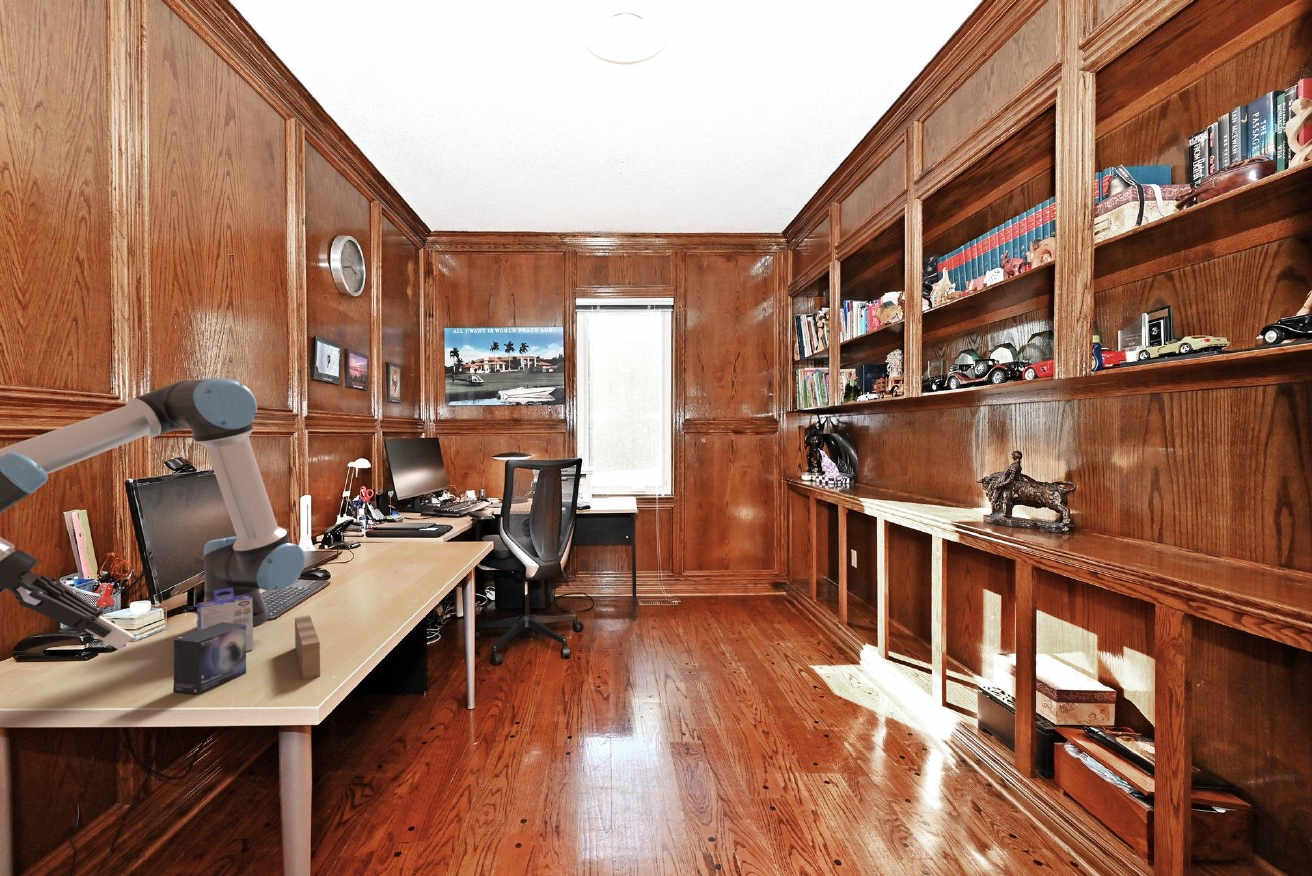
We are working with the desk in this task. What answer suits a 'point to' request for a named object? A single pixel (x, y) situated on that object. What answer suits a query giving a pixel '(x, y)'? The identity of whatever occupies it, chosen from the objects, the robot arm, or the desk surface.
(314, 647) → the walnut board
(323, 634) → the desk surface
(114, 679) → the desk surface
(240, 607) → the ink cartridge box
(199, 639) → the small box
